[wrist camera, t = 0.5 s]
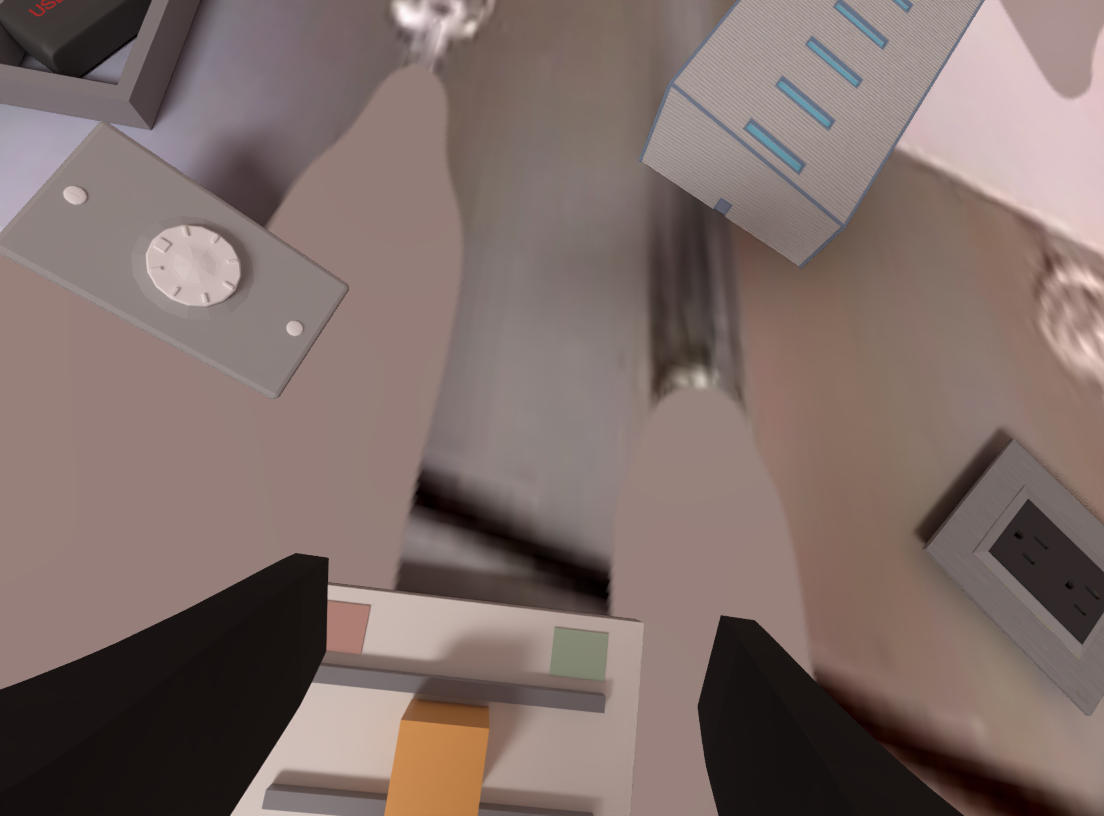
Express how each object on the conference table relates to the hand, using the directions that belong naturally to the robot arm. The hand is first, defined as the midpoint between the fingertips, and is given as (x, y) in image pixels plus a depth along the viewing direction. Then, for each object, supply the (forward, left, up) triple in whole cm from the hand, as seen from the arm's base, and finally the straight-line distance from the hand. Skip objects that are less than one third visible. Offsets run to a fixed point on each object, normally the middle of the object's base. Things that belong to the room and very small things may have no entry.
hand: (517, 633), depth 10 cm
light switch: (+15, +19, -24) cm, 34 cm away
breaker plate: (-8, +1, -24) cm, 25 cm away
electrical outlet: (+5, -35, -24) cm, 43 cm away
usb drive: (+35, +32, -24) cm, 53 cm away
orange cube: (-8, +1, -22) cm, 23 cm away
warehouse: (+41, -20, -24) cm, 51 cm away
